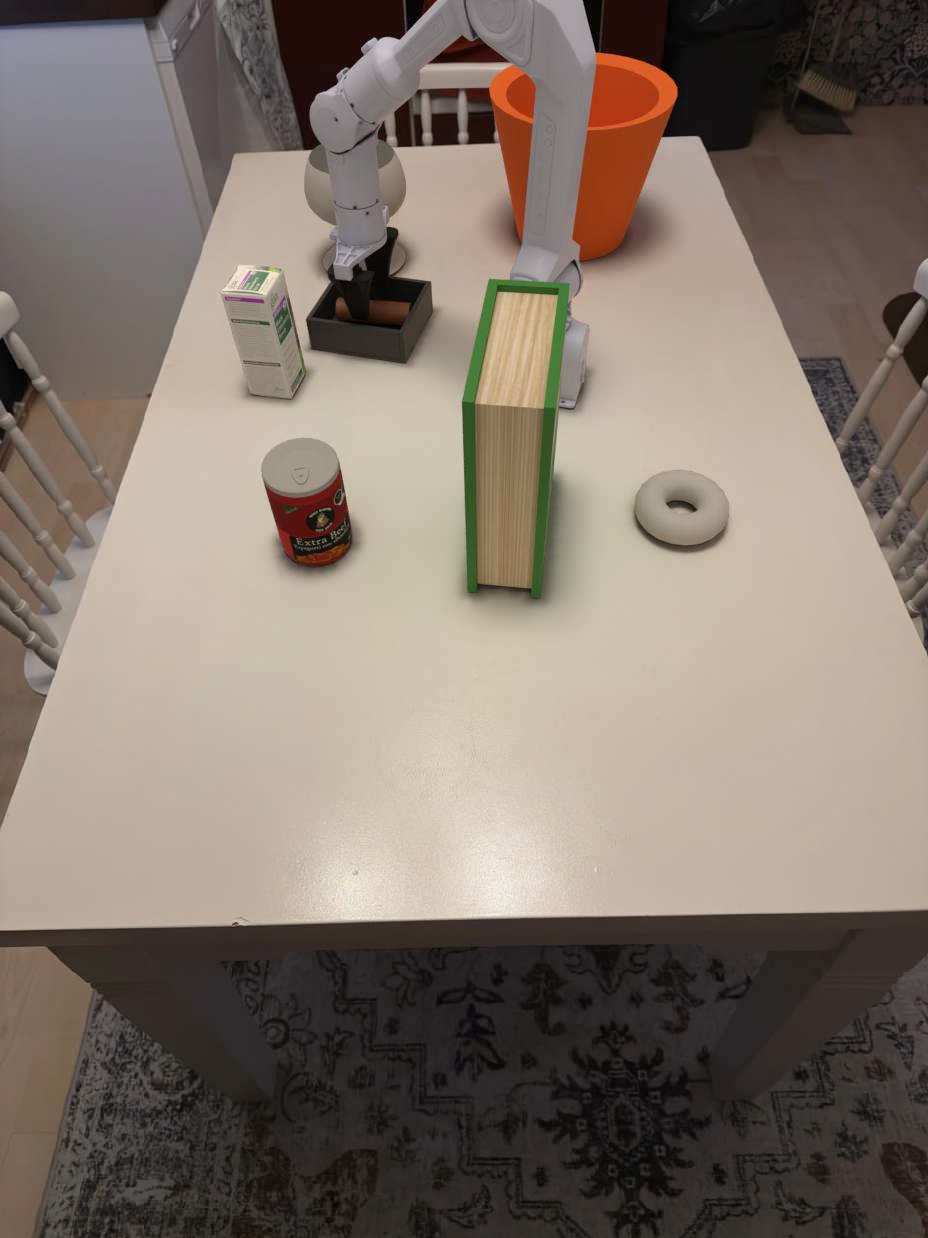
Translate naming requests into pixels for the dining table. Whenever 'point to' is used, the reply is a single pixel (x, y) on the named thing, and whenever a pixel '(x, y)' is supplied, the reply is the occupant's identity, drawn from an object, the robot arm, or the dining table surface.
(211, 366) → the dining table surface
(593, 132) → the flowerpot
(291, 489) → the canned food
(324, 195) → the chalice
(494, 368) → the hardback book
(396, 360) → the bin
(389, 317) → the wooden dowel
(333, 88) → the robot arm
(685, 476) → the donut
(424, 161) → the dining table surface
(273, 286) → the syrup box
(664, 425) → the dining table surface
